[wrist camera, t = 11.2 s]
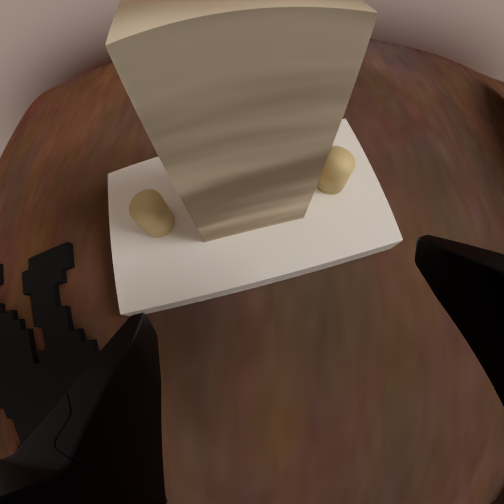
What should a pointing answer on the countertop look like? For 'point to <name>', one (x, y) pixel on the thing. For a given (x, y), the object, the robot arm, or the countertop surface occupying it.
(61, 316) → the ragged black cutout
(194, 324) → the countertop surface
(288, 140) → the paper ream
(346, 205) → the white peg rack
